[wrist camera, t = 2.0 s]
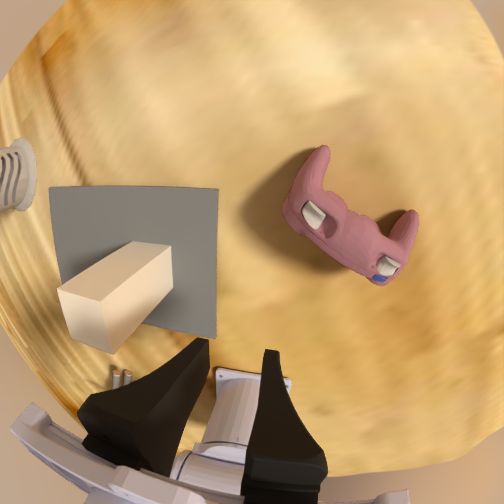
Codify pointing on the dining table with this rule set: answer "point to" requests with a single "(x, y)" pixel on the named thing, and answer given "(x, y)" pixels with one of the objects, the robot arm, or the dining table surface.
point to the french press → (17, 176)
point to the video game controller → (346, 226)
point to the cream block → (116, 294)
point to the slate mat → (148, 231)
